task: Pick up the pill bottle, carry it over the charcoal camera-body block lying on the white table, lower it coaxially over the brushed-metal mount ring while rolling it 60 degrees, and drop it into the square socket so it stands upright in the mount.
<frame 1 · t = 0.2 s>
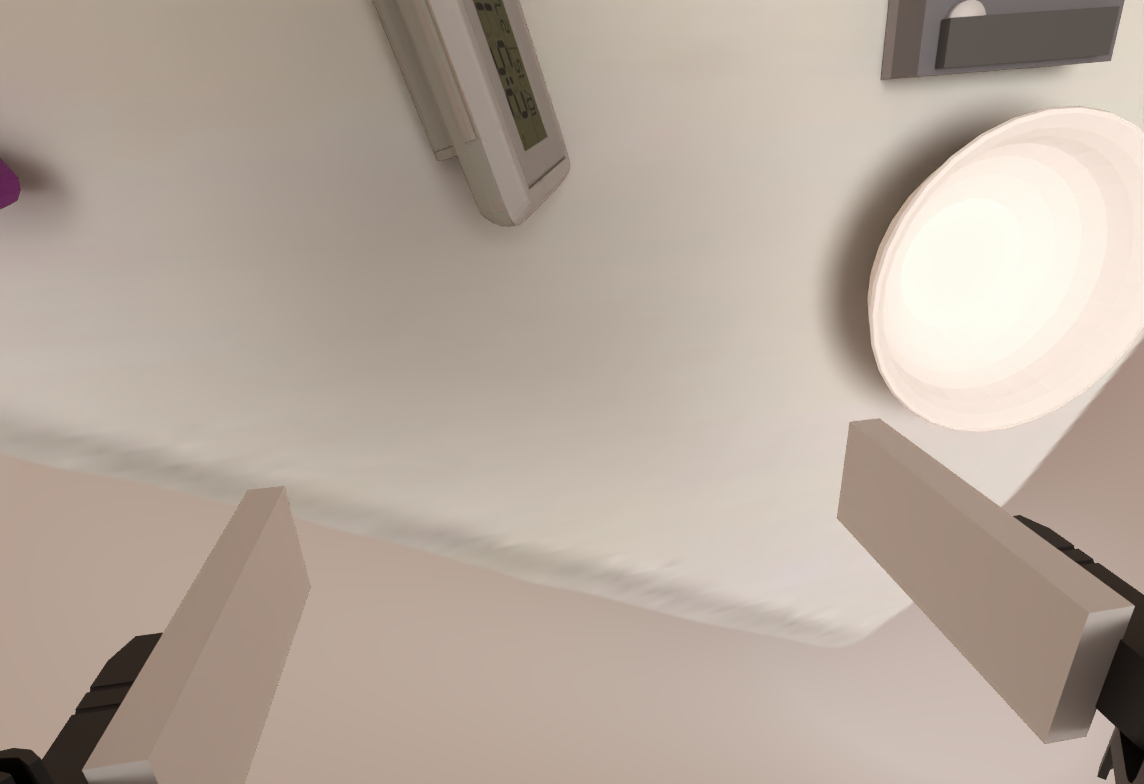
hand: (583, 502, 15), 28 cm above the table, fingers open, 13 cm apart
bowl: (953, 263, 45), on the table
digital clock: (479, 52, 36), on the table
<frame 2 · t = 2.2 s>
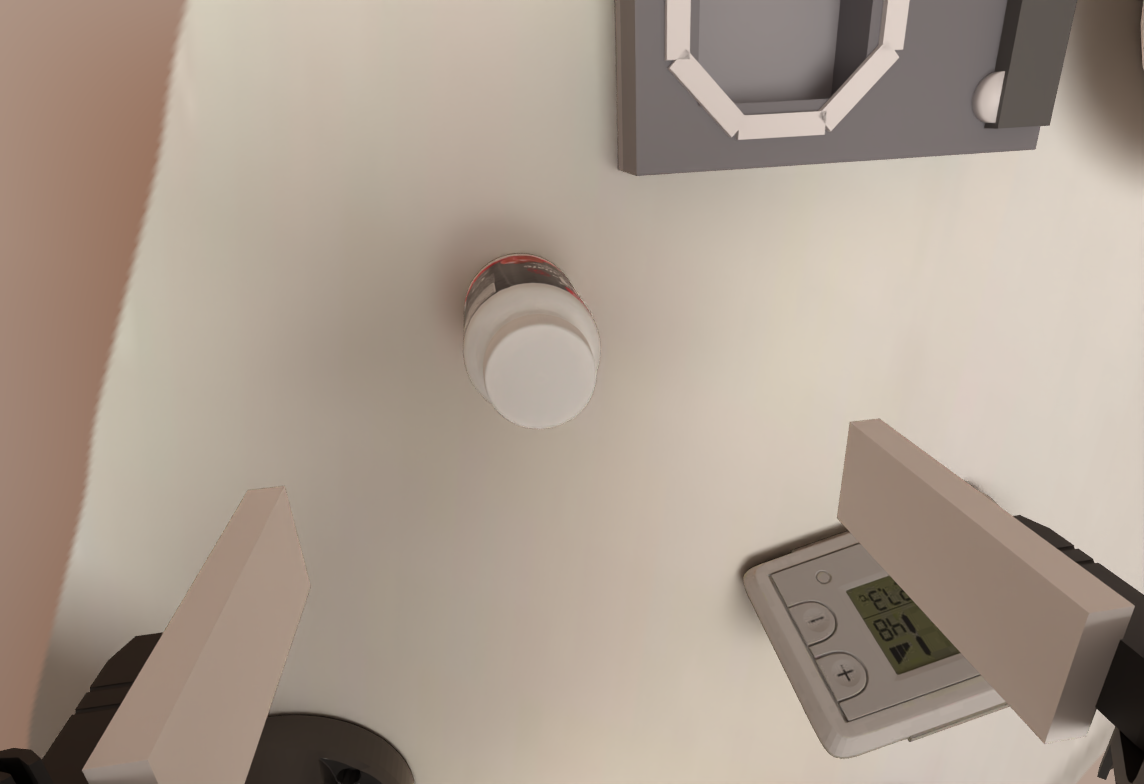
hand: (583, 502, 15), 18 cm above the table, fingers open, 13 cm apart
camera body: (816, 12, 28), on the table
pill bottle: (519, 305, 32), on the table
digital clock: (859, 551, 41), on the table
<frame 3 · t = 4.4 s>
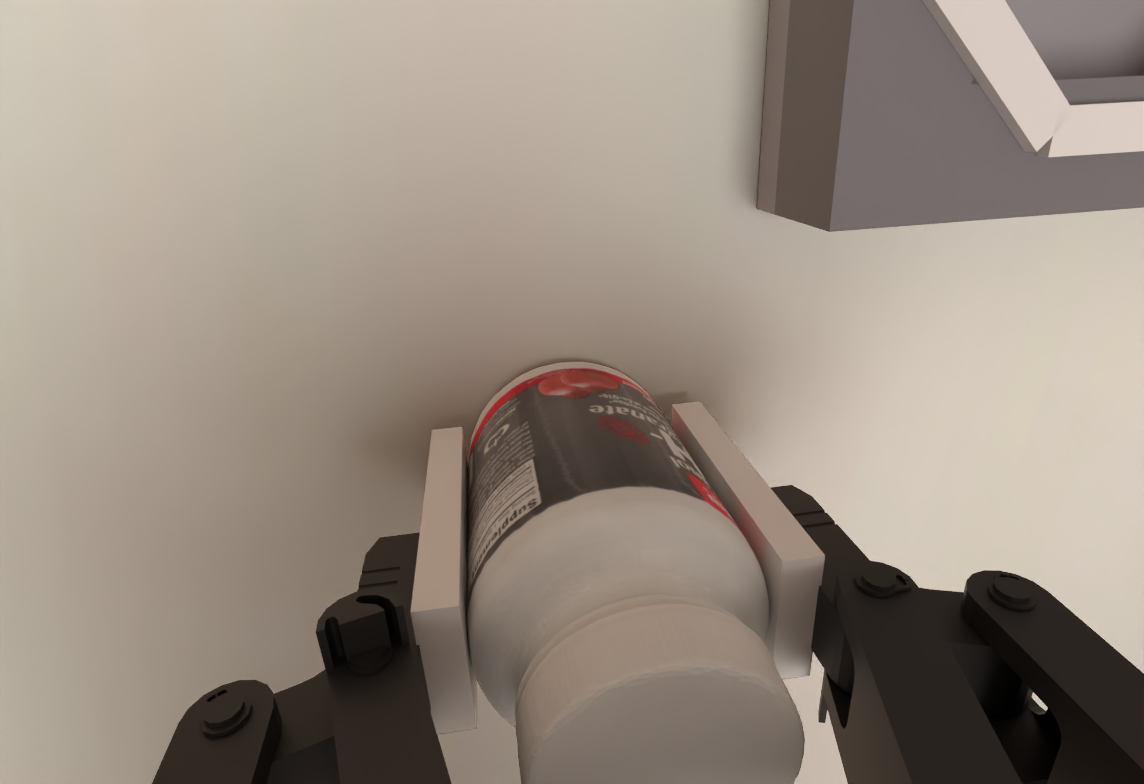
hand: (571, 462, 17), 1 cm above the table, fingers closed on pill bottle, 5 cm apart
pill bottle: (566, 444, 18), on the table, touching gripper
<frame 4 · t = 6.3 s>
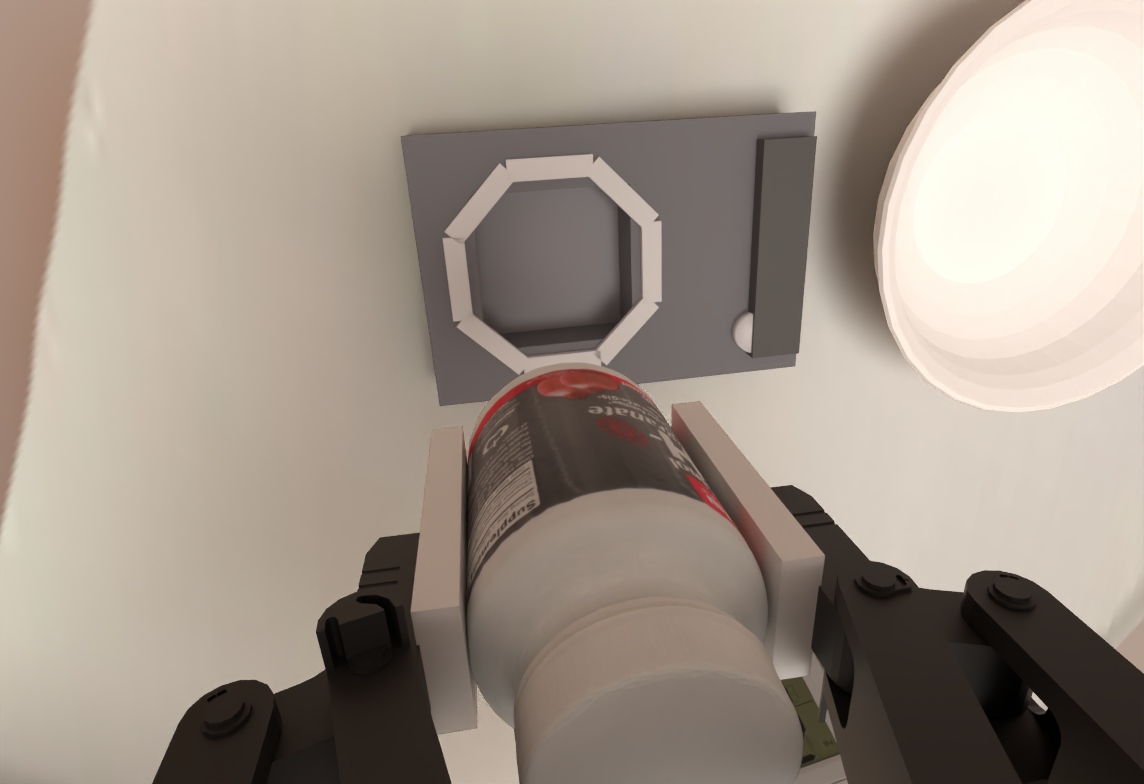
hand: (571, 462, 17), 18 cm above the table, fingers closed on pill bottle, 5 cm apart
camera body: (604, 251, 33), on the table
bowl: (978, 200, 36), on the table
pill bottle: (565, 445, 18), point 17 cm above the table, touching gripper
digital clock: (706, 667, 45), on the table
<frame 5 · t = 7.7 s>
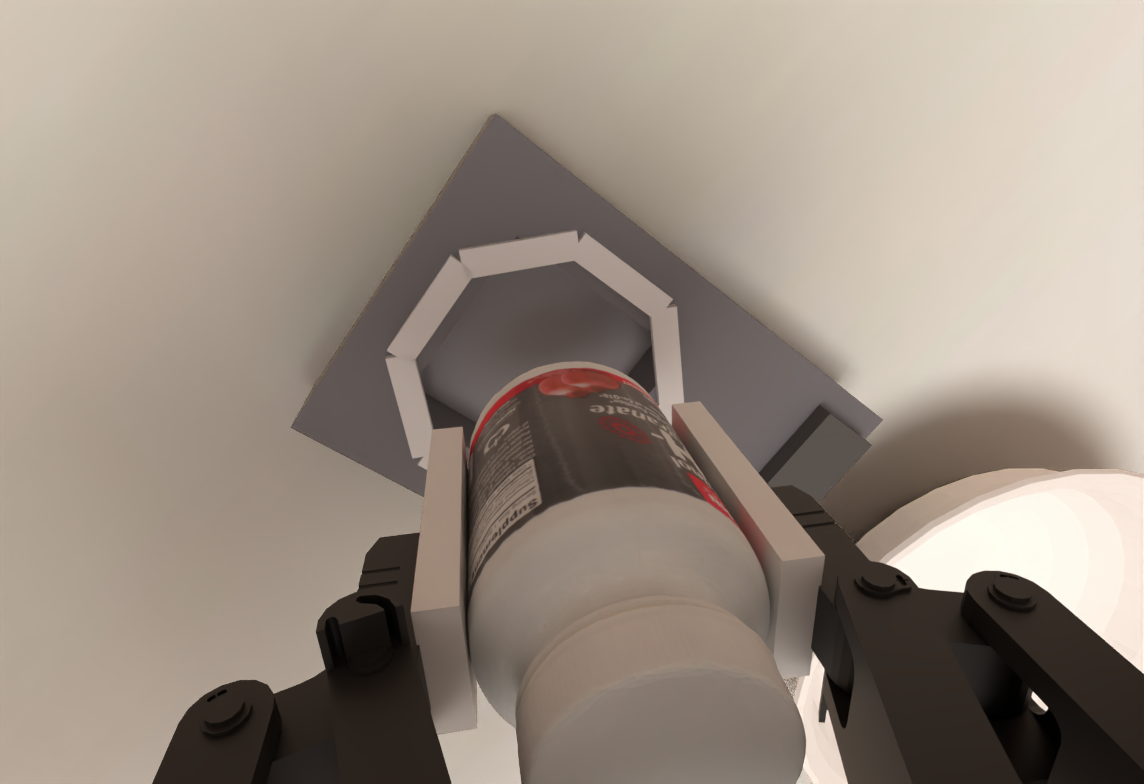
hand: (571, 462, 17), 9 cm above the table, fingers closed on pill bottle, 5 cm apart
camera body: (591, 386, 27), on the table
bowl: (916, 576, 34), on the table
pill bottle: (566, 444, 18), point 8 cm above the table, touching gripper
when the fingers open (5 cm above the table, at t = 8.7 s): pill bottle drops 3 cm, resting on camera body.
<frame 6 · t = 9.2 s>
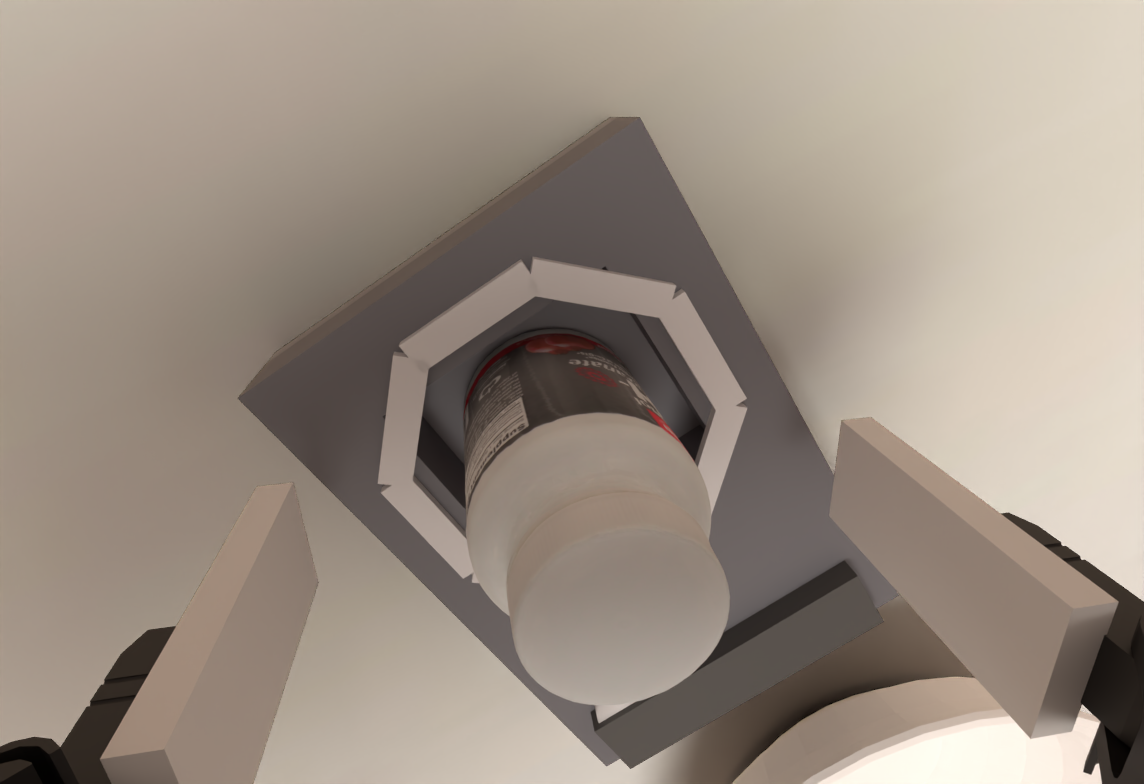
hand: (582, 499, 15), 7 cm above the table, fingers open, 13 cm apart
camera body: (598, 456, 23), on the table
bowl: (843, 751, 31), on the table
pill bottle: (548, 403, 21), point 1 cm above the table, touching camera body
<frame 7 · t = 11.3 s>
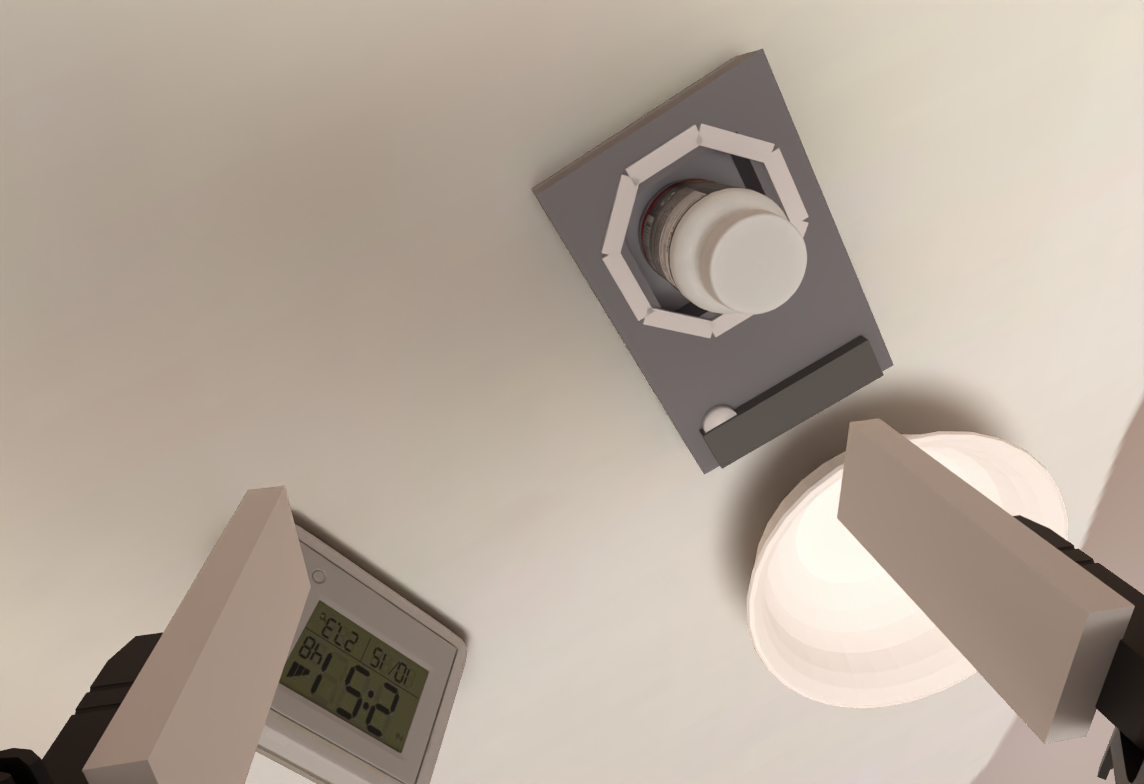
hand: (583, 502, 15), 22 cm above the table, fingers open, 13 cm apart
camera body: (708, 273, 36), on the table
bowl: (853, 522, 44), on the table
pill bottle: (685, 229, 34), point 1 cm above the table, touching camera body
digital clock: (356, 598, 42), on the table
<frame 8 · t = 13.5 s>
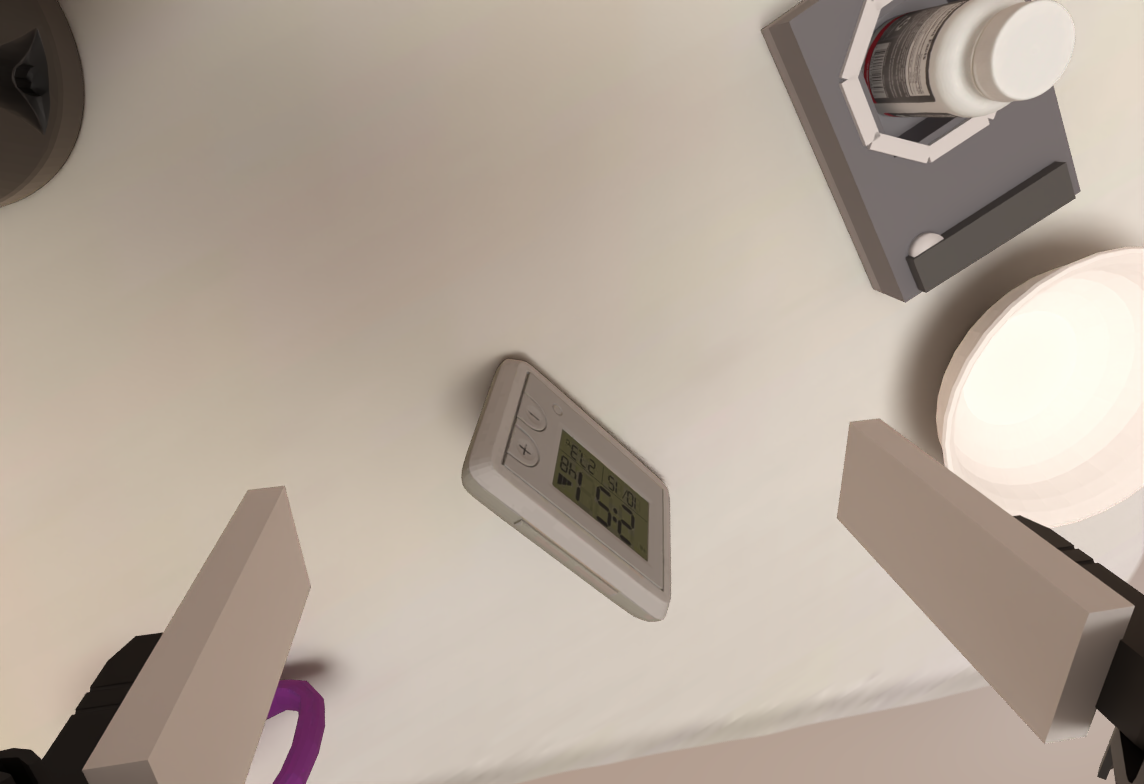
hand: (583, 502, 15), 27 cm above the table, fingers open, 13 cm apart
camera body: (908, 113, 39), on the table
bowl: (1011, 365, 48), on the table
pill bottle: (896, 66, 38), point 1 cm above the table, touching camera body
digital clock: (567, 445, 45), on the table
mug: (235, 681, 49), on the table
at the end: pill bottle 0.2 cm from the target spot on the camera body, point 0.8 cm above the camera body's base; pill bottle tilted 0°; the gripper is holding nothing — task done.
